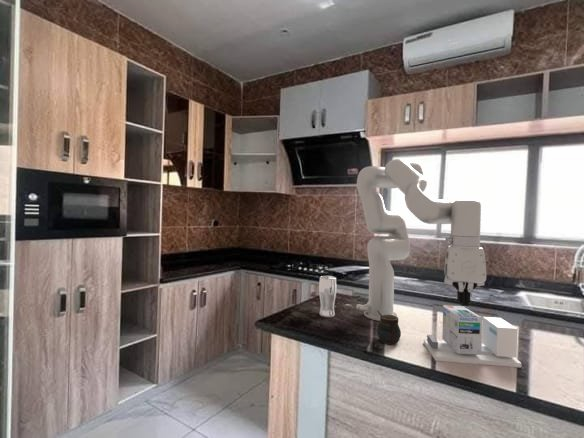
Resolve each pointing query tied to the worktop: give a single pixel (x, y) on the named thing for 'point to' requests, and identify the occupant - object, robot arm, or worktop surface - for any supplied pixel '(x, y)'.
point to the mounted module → (499, 336)
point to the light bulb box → (462, 330)
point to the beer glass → (327, 295)
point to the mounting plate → (466, 355)
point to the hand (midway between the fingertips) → (463, 304)
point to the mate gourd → (388, 329)
